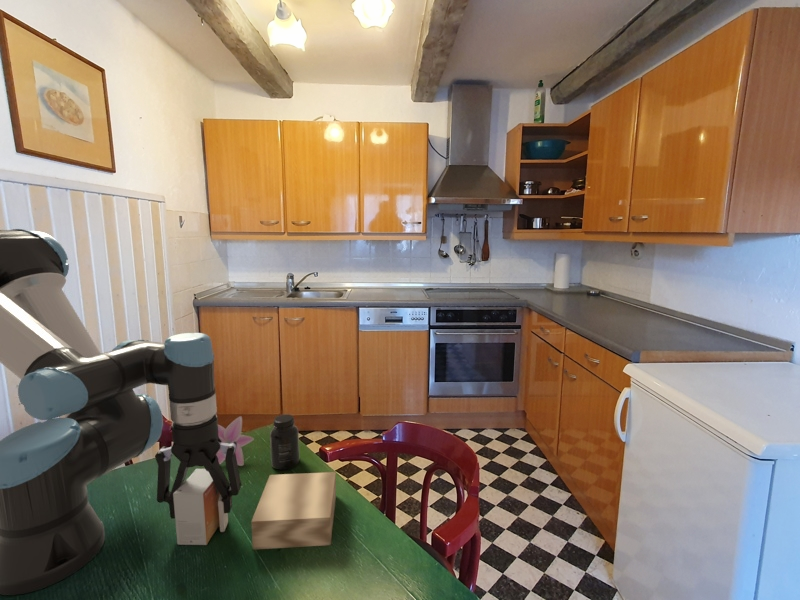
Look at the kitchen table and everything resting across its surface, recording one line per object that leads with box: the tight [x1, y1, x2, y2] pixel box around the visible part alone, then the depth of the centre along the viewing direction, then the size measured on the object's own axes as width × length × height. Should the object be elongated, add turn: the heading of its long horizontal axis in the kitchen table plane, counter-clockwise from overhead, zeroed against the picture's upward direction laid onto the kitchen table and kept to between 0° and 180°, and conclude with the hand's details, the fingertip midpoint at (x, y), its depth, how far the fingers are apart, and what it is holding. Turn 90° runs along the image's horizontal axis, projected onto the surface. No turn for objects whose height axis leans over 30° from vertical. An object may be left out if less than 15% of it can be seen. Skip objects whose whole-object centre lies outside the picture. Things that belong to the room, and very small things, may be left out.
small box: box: [173, 468, 221, 546], centre depth 74 cm, size 8×6×10 cm
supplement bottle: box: [269, 413, 300, 471], centre depth 97 cm, size 7×7×12 cm
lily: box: [216, 415, 255, 467], centre depth 99 cm, size 12×12×10 cm
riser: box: [250, 471, 337, 550], centre depth 78 cm, size 14×14×6 cm
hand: (203, 528), depth 75 cm, fingers open, 7 cm apart
